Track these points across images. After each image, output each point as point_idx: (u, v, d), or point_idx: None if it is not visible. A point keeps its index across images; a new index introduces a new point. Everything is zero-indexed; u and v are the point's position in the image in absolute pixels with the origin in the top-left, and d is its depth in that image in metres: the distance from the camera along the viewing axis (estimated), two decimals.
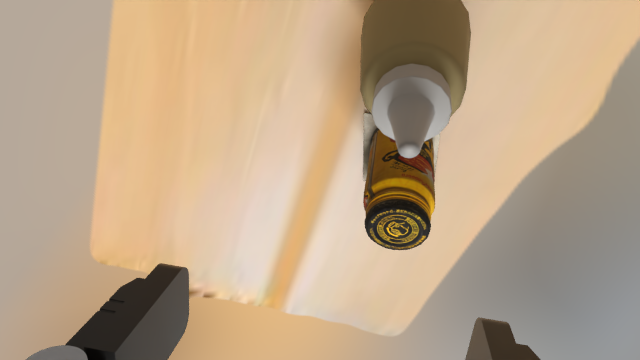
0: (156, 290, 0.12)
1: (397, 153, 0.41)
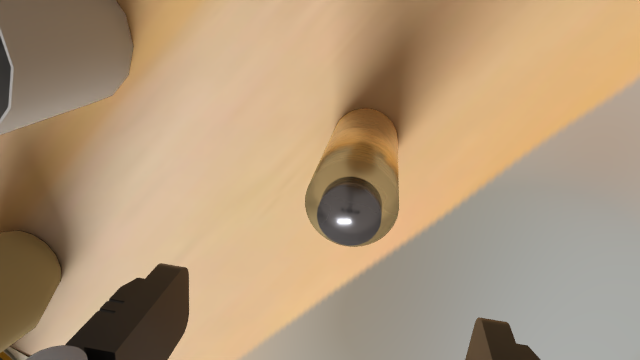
0: (156, 290, 0.12)
1: None
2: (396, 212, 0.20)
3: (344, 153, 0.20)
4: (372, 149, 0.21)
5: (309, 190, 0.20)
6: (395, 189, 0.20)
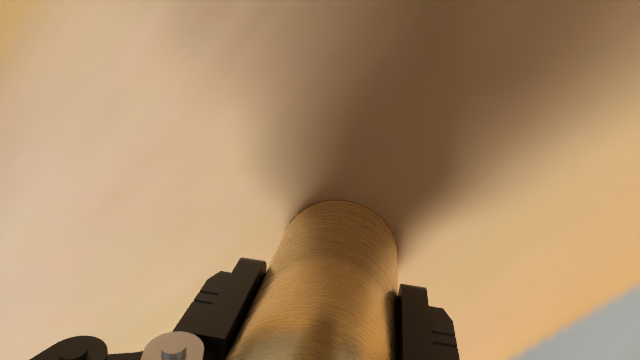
0: (245, 282, 0.12)
1: None
2: None
3: None
4: None
5: None
6: None
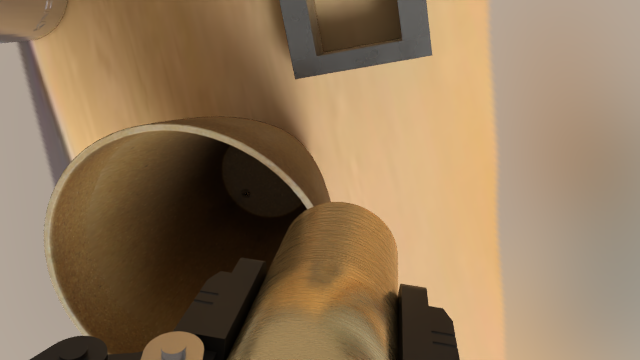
0: (245, 282, 0.12)
1: None
2: None
3: None
4: None
5: None
6: None
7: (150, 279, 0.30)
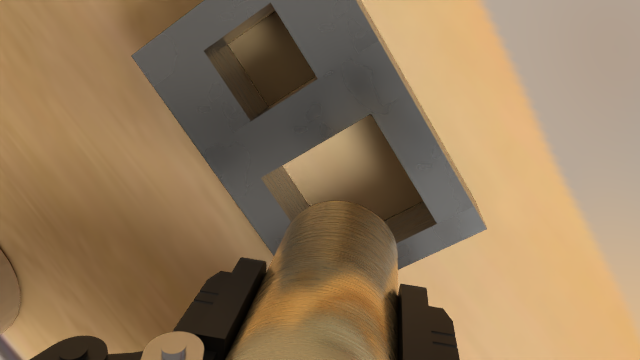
0: (245, 282, 0.12)
1: None
2: None
3: None
4: None
5: None
6: None
7: None
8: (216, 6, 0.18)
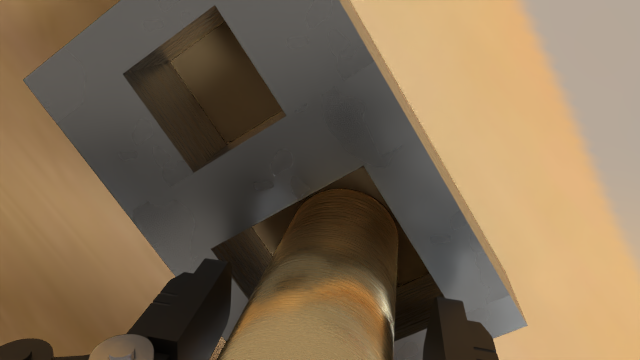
0: (206, 283, 0.12)
1: None
2: None
3: None
4: (329, 343, 0.09)
5: None
6: None
7: None
8: (137, 11, 0.13)
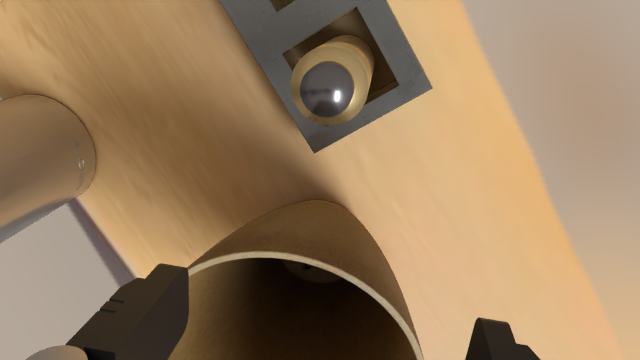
0: (156, 290, 0.12)
1: None
2: (366, 92, 0.24)
3: (324, 45, 0.24)
4: (347, 46, 0.25)
5: (294, 74, 0.24)
6: (365, 72, 0.24)
7: None
8: None
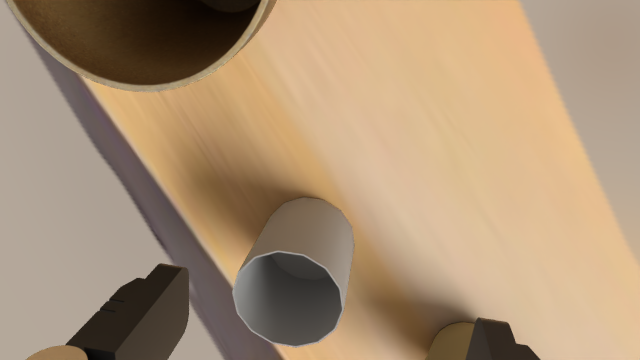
0: (156, 290, 0.12)
1: None
2: None
3: None
4: None
5: None
6: None
7: (131, 45, 0.29)
8: None
